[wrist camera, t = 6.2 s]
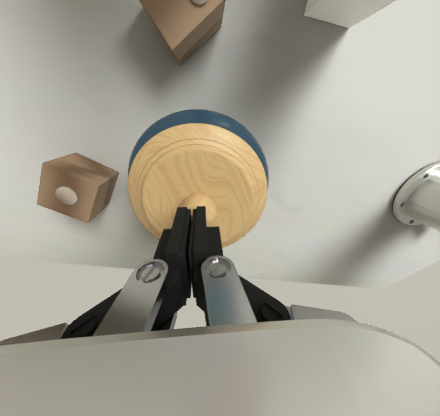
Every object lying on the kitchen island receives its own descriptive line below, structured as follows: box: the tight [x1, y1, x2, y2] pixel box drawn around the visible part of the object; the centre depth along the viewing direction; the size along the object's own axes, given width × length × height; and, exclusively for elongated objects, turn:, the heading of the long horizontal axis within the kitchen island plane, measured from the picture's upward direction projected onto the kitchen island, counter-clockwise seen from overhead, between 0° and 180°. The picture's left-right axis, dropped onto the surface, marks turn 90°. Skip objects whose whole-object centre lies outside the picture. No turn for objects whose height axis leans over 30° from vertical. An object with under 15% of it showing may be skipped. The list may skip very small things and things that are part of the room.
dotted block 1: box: [37, 153, 119, 223], centre depth 25 cm, size 6×6×6 cm
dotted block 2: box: [139, 0, 225, 65], centre depth 17 cm, size 6×6×6 cm
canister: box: [128, 110, 269, 248], centre depth 19 cm, size 13×13×18 cm
